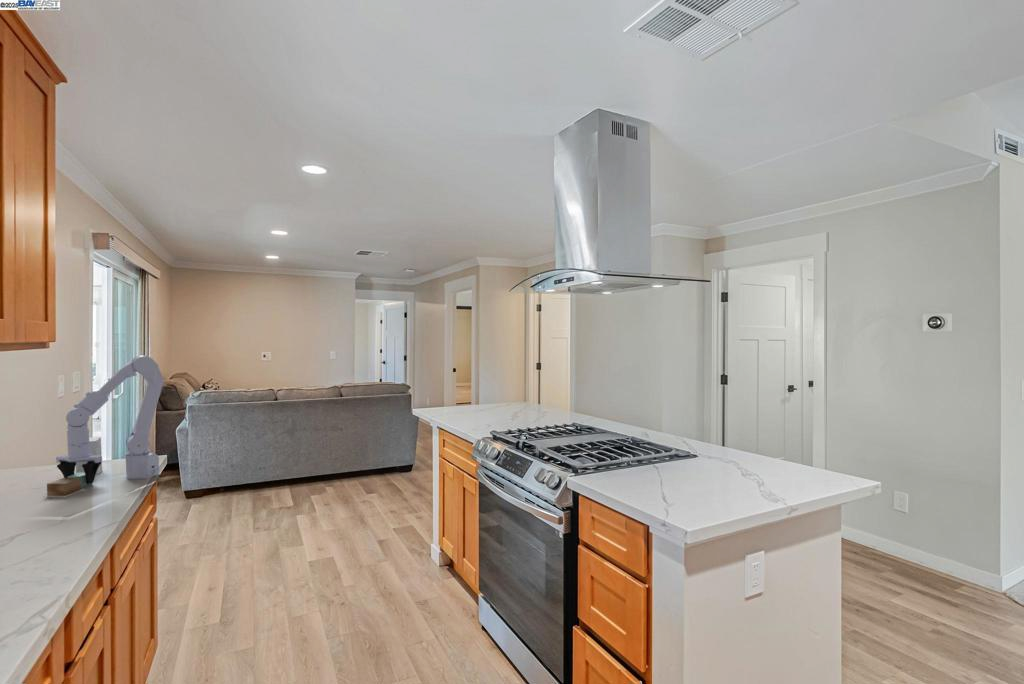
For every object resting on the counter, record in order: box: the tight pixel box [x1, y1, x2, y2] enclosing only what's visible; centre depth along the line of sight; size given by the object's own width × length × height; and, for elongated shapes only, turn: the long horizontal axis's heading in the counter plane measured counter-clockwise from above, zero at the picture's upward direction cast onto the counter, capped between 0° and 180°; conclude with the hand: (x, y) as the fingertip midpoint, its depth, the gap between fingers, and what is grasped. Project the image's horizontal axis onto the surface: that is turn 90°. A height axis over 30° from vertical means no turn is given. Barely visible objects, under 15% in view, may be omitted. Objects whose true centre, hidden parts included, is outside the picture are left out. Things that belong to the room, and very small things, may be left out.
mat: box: [44, 488, 85, 498], centre depth 169 cm, size 16×9×1 cm, turn 88°
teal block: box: [68, 472, 93, 488], centre depth 177 cm, size 4×4×4 cm
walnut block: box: [46, 477, 83, 497], centre depth 169 cm, size 6×6×4 cm
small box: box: [75, 436, 103, 476], centre depth 193 cm, size 8×6×13 cm
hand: (80, 483), depth 177 cm, fingers open, 6 cm apart
